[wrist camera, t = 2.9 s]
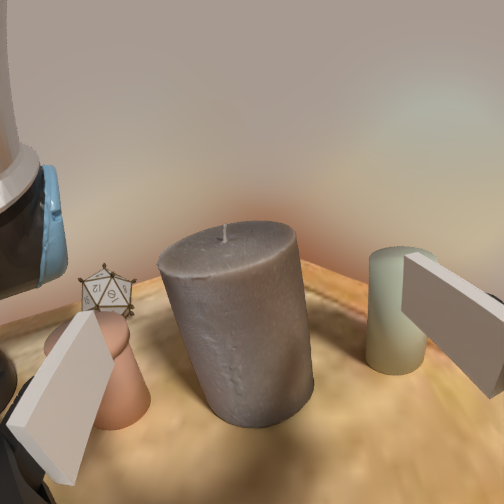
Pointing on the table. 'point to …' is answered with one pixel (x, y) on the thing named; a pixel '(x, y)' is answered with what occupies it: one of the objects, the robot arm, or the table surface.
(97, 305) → the game die
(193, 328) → the pillar candle
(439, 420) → the table surface
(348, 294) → the table surface
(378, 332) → the pale green cylinder
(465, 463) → the table surface
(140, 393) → the peach round-topped cylinder
